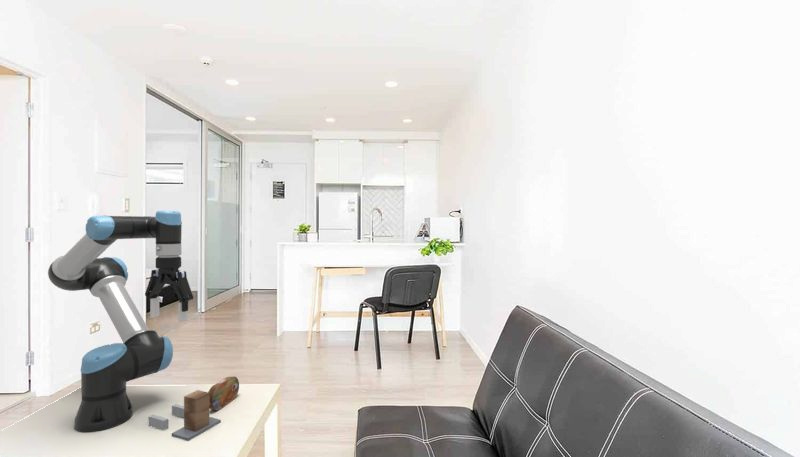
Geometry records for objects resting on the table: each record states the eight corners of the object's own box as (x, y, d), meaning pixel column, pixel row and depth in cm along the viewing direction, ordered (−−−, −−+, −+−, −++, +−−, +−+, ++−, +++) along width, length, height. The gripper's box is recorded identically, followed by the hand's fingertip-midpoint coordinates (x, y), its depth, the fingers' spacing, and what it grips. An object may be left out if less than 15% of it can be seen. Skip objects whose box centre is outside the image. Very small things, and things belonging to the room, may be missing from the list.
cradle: (148, 425, 125) (148, 416, 125) (175, 412, 134) (175, 403, 134) (163, 430, 122) (163, 420, 122) (190, 416, 131) (190, 407, 131)
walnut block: (184, 428, 122) (184, 396, 122) (197, 421, 127) (197, 390, 127) (195, 431, 120) (195, 399, 120) (209, 424, 125) (209, 392, 125)
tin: (213, 414, 133) (213, 389, 133) (205, 413, 134) (205, 388, 134) (239, 395, 148) (240, 373, 148) (232, 394, 148) (232, 372, 148)
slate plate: (171, 435, 119) (171, 433, 119) (204, 417, 130) (204, 415, 130) (188, 440, 117) (188, 438, 117) (220, 422, 128) (220, 419, 128)
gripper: (132, 255, 135) (133, 317, 135) (185, 258, 125) (185, 325, 126) (154, 254, 142) (154, 313, 142) (205, 257, 132) (205, 320, 132)
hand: (168, 319), depth 134 cm, fingers open, 13 cm apart
